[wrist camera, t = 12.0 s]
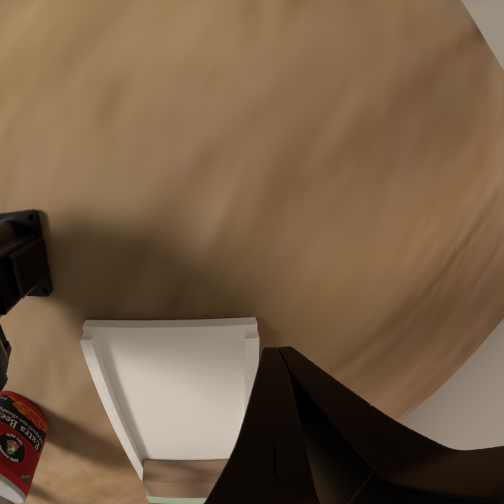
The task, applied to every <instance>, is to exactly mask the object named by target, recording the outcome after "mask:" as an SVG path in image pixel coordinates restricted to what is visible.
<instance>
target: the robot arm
mask: <svg viewBox="0 0 504 504" xmlns="http://www.w3.org/2000/svg"><path fill="white" fill-rule="evenodd" d="M31 214H32V215H33V216H34V220H33V219H32V218H31ZM45 288H47V290H48V291H46V289H45ZM52 291H53V288H52V284H51V279H50V275H49V266H48V261H47V256H46V251H45V245H44V240H43V239H42V232H41V226H40V219H39V214H38V212H37V211H36V210H34V209H32V210H24V211H16V212H8V213H1V214H0V317H1V316H2V315H6V314H7V313H8V312H9V311H10V310H11V309H12V308H13V307H14V306H15V305H16V304H17V303H18V302H19V301H20V300H21V299H22V298H24V297H25V296H49V295H50V294H51V293H52ZM11 349H12V348H11V346H10V344H9V341H7V340H6V337H5V335H4V332H3V330H2V327H1V325H0V392H1V391H2V390H3V388H4V386H5V385H6V383H7V380H8V378H7V375H6V372H7V368H8V363H9V361H8V360H9V356H10V353H11ZM204 504H504V446H499V447H493V448H485V449H476V450H465V451H464V450H455V449H451V448H448V447H445V446H443V445H441V444H439V443H437V442H435V441H433V440H431V439H429V438H427V437H425V436H423V435H421V434H419V433H417V432H415V431H413V430H411V429H409V428H408V427H406V426H404V425H402V424H400V423H399V422H397V421H395V420H394V419H392V418H390V417H389V416H387V415H386V414H384V413H383V412H381V411H380V410H378V409H377V408H375V407H374V406H372V405H371V406H370V404H369V403H368V402H367V401H365V400H364V399H362V398H361V397H360V396H358V395H357V394H355V393H354V392H352V391H351V390H350V389H348V388H347V387H345V386H344V385H343V384H341V383H340V382H339V381H337V380H336V379H334V378H333V377H332V376H330V375H329V374H328V373H326V372H325V371H324V370H322V369H321V368H319V367H318V366H317V365H315V364H314V363H313V362H311V361H310V360H309V359H307V358H306V357H305V356H303V355H302V354H301V353H299V352H298V351H297V350H295V349H294V348H293V347H291V346H287V347H278V348H276V347H265V348H263V350H262V354H261V358H260V362H259V365H258V369H257V373H256V376H255V380H254V383H253V387H252V391H251V394H250V398H249V401H248V405H247V408H246V412H245V415H244V419H243V422H242V425H241V429H240V432H239V435H238V438H237V441H236V443H235V446H234V448H233V451H232V453H231V455H230V457H229V459H228V461H227V463H226V465H225V467H224V469H223V471H222V472H221V474H220V476H219V478H218V480H217V481H216V483H215V485H214V487H213V489H212V490H211V492H210V494H209V496H208V497H207V499H206V501H205V502H204Z"/></svg>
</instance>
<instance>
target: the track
mask: <svg viewBox="0 0 504 504" xmlns="http://www.w3.org/2000/svg"><path fill="white" fill-rule="evenodd" d="M82 329H83V334H82V336H81V337H80V339H79V340H80V343H81V347H82V350H83V353H84V356H85V359H86V361H87V364H88V367H89V370H90V373H91V375H92V378H93V381H94V383H95V386H96V388H97V391H98V393H99V396H100V398H101V401H102V403H103V405H104V408H105V410H106V412H107V414H108V417H109V419H110V421H111V423H112V425H113V427H114V430H115V432H116V434H117V436H118V438H119V440H120V442H121V444H122V446H123V448H124V450H125V452H126V454H127V455H128V457H129V459H130V461H131V463H132V465H133V466H134V468H135V470H136V472H137V473H138V475H139V477H140V479H141V480H142V477H143V467H144V459H147V460H167V461H211V460H228V459H229V457H230V455H231V453H232V451H233V448H234V446H235V443H236V441H237V438H238V435H239V432H240V429H241V425H242V422H243V419H244V415H245V412H246V408H247V405H248V401H249V398H250V394H251V391H252V387H253V383H254V380H255V376H256V373H257V369H258V365H259V335H258V331H257V321H256V317H244V318H224V319H198V320H85V322H84V324H83V325H82ZM146 497H147V499H148V500H149V502H153V503H169V504H204V502H205V501H206V499H207V498H179V497H158V496H151V495H150V493H149V492H148V490H147V489H146Z"/></svg>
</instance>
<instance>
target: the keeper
mask: <svg viewBox="0 0 504 504" xmlns="http://www.w3.org/2000/svg"><path fill="white" fill-rule="evenodd" d="M227 461H228V460H211V461H167V460H147V459H144V467H143V477H142V482H143V484H144V485H145V487H146V489H147V490H148V492H149V493H150V495H151V496H158V497H179V498H207V497H208V496H209V494H210V492H211V490H212V489H213V487H214V485H215V483H216V481H217V480H218V478H219V476H220V474H221V472H222V471H223V469H224V467H225V465H226V463H227Z"/></svg>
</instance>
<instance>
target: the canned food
mask: <svg viewBox="0 0 504 504" xmlns="http://www.w3.org/2000/svg"><path fill="white" fill-rule="evenodd" d="M48 427H49V426H48V422H47V420H46V418H45V417H44V415H43V414H42V413H41V412H40V410H39V409H38V408H37V407H35V406H34V405H33V404H32V403H31V402H30V401H28V400H27V399H25V398H23V397H22V396H20V395H18V394H15V393H13V392H9V391H2V392H0V495H1V496H2V497H4V498H6V499H9V500H11V501H14V502H17V503H24V502H25V500H26V498H27V495H28V492H29V489H30V486H31V482H32V479H33V476H34V473H35V470H36V467H37V464H38V461H39V458H40V455H41V453H42V450H43V447H44V444H45V442H46V439H47V436H48Z"/></svg>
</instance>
